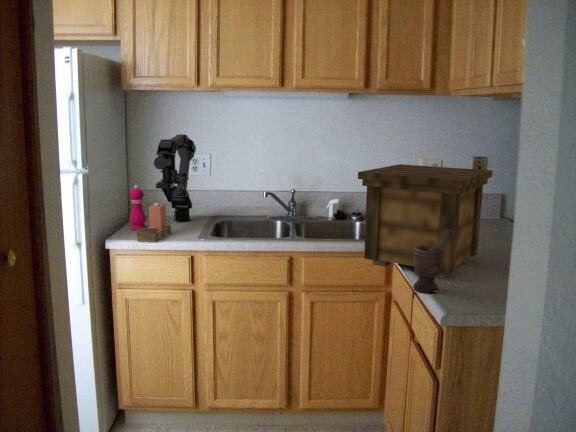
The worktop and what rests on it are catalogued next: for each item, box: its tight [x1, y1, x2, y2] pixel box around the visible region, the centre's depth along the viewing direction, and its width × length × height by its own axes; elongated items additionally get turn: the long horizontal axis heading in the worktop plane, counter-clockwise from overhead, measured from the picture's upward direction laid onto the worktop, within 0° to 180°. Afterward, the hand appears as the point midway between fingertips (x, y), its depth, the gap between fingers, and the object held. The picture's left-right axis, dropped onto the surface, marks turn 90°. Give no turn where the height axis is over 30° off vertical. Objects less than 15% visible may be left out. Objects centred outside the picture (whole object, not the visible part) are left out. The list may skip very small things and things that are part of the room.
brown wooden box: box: [136, 224, 172, 243], centre depth 220 cm, size 17×8×6 cm, turn 172°
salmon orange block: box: [148, 202, 167, 230], centre depth 223 cm, size 6×5×11 cm
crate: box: [357, 164, 493, 278], centre depth 183 cm, size 35×35×33 cm
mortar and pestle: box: [412, 229, 454, 294], centre depth 154 cm, size 12×9×20 cm
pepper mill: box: [129, 184, 147, 231], centre depth 233 cm, size 7×7×20 cm
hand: (169, 202), depth 237 cm, fingers closed
